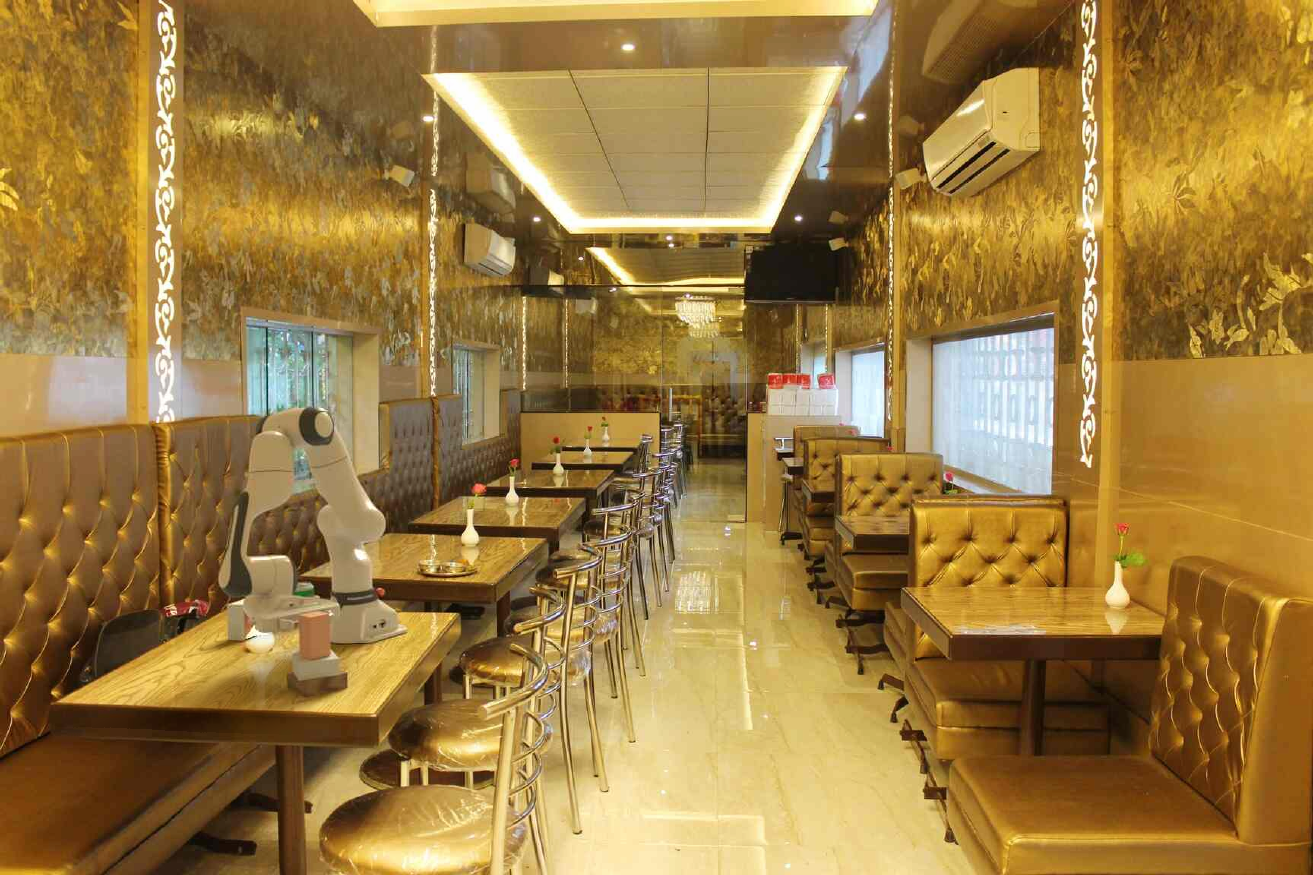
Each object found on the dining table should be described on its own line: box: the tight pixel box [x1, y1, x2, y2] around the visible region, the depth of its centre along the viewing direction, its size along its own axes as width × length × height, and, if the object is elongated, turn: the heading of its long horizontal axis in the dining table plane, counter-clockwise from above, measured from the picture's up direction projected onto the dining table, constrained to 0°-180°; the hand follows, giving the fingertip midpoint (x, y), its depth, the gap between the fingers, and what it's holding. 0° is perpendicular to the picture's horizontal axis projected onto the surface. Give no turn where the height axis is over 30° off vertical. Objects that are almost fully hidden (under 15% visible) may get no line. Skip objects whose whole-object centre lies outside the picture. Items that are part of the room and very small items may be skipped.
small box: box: [226, 598, 254, 642], centre depth 267 cm, size 8×6×10 cm
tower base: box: [286, 669, 349, 699], centre depth 220 cm, size 10×10×4 cm
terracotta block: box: [298, 611, 332, 660], centre depth 219 cm, size 5×5×10 cm
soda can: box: [294, 581, 315, 596], centre depth 286 cm, size 8×8×12 cm
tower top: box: [291, 649, 340, 681], centre depth 219 cm, size 9×9×4 cm
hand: (313, 621), depth 221 cm, fingers open, 8 cm apart
